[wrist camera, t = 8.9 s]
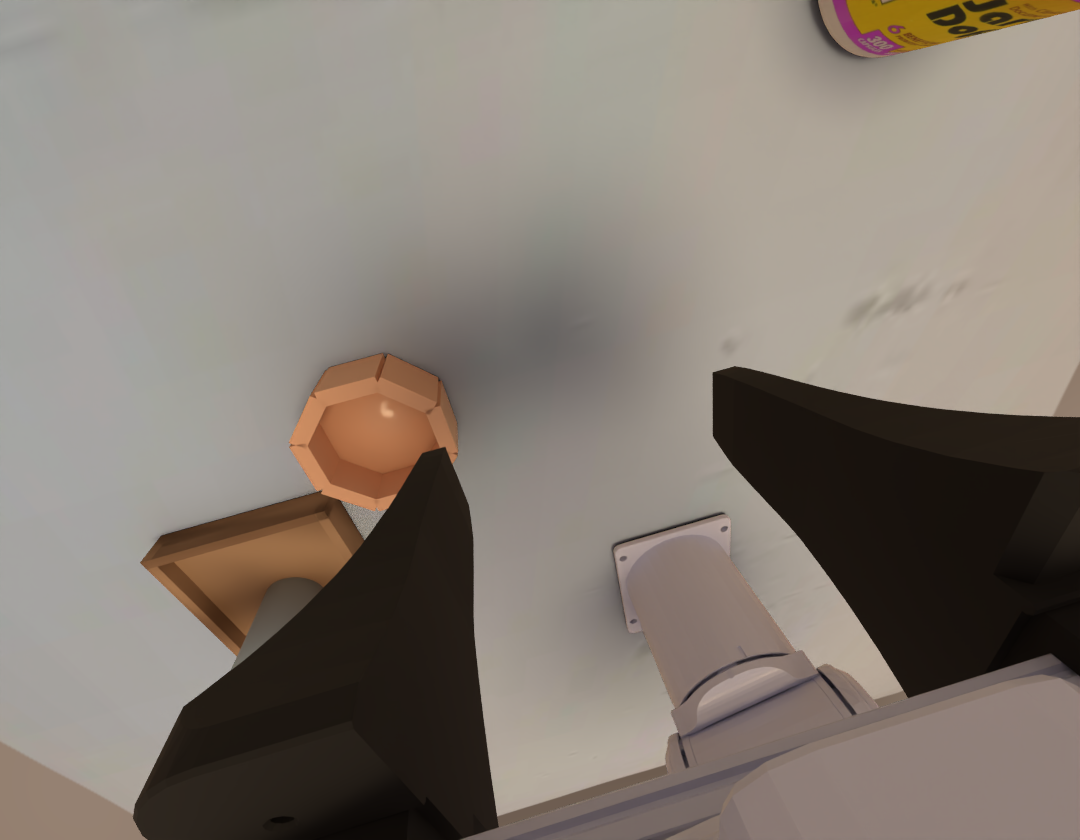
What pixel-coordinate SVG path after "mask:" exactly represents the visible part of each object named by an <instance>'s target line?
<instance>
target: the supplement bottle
mask: <svg viewBox="0 0 1080 840" xmlns="http://www.w3.org/2000/svg"><path fill="white" fill-rule="evenodd" d="M818 3H819V8H820V12H821V15H822V18H823V21H824V24H825V26H826V27H827V29H828V31H829V33H830V35H831V36H832V37H833V38H834V40H835V41H836V42H837V43H838V44H839V45H840V46H841V47H843V48H844V49H845V50H847V51H849V52H851V53H852V54H855V55H858V56H863V57H873V58H879V57H885V56H891V55H895V54H900V53H905V52H909V51H913V50H917V49H922V48H926V47H930V46H934V45H938V44H942V43H946V42H950V41H954V40H958V39H962V38H966V37H970V36H974V35H978V34H982V33H986V32H991V31H995V30H999V29H1002V28H1007V27H1010V26H1014V25H1018V24H1022V23H1027V22H1030V21H1035V20H1039V19H1043V18H1047V17H1051V16H1054V15H1058V14H1063V13H1067V12H1071V11H1075V10H1078V9H1080V0H818Z"/></svg>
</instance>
